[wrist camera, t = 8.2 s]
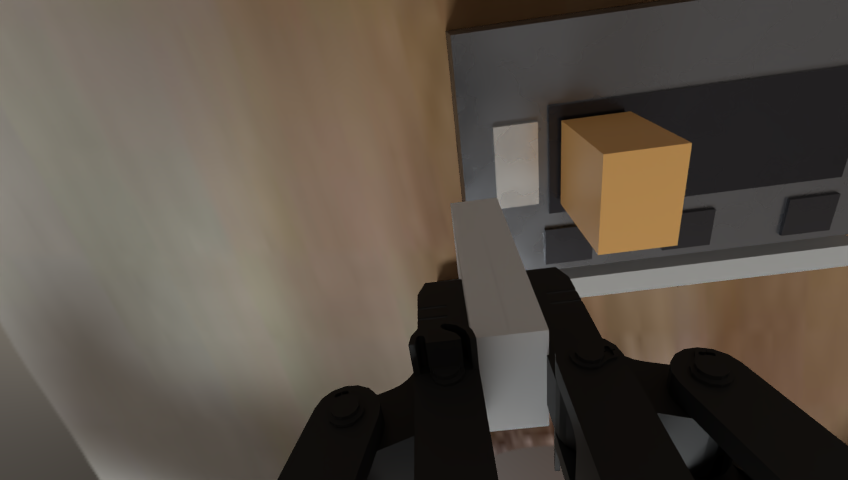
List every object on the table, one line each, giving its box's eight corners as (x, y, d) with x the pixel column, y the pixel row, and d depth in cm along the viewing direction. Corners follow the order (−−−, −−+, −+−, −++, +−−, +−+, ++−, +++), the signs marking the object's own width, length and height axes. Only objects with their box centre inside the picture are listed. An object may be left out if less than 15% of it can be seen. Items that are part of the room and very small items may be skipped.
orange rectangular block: (560, 203, 22) (598, 255, 18) (561, 120, 20) (603, 154, 16) (623, 195, 22) (677, 245, 18) (630, 111, 20) (692, 142, 16)
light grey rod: (439, 300, 29) (440, 314, 28) (436, 281, 28) (438, 294, 27) (834, 253, 28) (854, 264, 27) (841, 232, 27) (861, 243, 26)
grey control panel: (467, 252, 27) (473, 281, 24) (445, 30, 22) (450, 35, 19) (850, 204, 26) (903, 229, 24) (929, -38, 21) (1011, -44, 18)
